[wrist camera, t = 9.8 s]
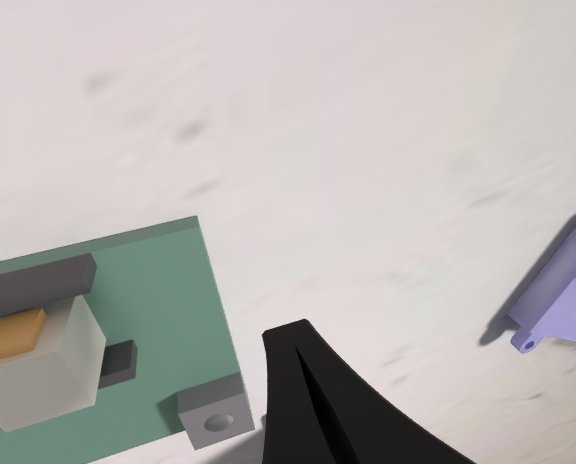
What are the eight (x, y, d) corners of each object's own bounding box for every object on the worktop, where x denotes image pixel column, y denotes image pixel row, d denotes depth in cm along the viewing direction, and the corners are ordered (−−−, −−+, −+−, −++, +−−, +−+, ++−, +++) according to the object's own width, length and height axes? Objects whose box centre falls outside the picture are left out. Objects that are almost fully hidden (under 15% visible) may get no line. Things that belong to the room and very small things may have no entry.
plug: (106, 339, 20) (94, 404, 16) (33, 359, 19) (5, 432, 16) (73, 279, 17) (52, 341, 14) (-11, 300, 17) (-53, 370, 13)
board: (247, 393, 27) (256, 434, 24) (-10, 478, 24) (-32, 536, 21) (196, 215, 19) (202, 248, 16) (-200, 308, 16) (-273, 367, 13)
